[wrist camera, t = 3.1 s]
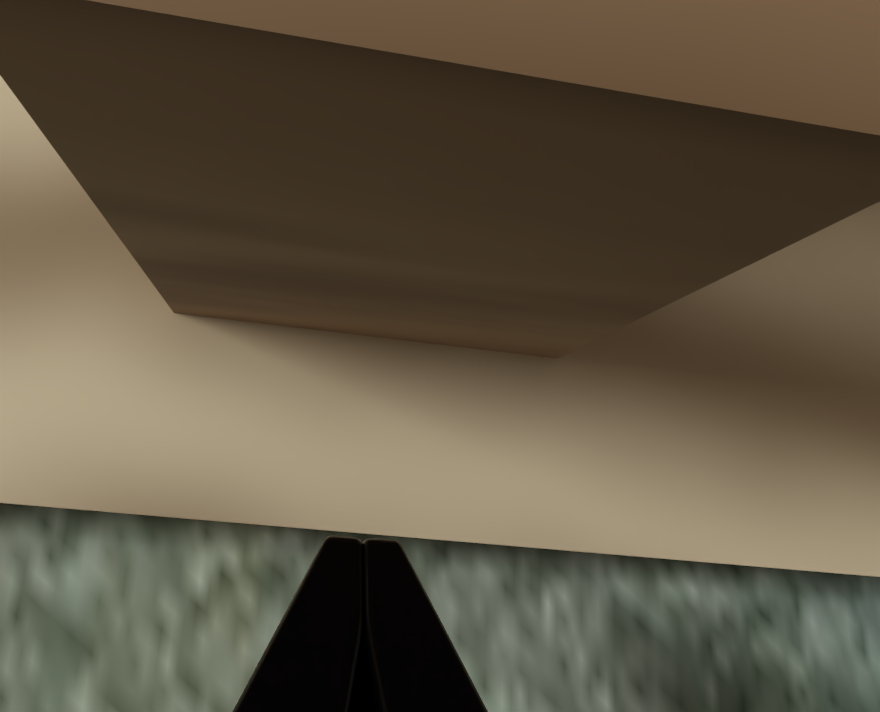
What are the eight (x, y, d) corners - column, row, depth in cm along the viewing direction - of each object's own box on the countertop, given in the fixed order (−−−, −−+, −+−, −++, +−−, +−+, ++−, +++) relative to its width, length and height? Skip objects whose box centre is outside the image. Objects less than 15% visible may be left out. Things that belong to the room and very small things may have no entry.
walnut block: (557, 358, 16) (980, 152, 6) (173, 312, 15) (-76, -29, 5) (580, 17, 17) (966, -622, 7) (226, -48, 16) (111, -900, 6)
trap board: (850, 569, 18) (977, 589, 15) (-271, 474, 15) (-440, 471, 12) (857, -227, 22) (962, -362, 18) (-59, -447, 18) (-142, -662, 15)
